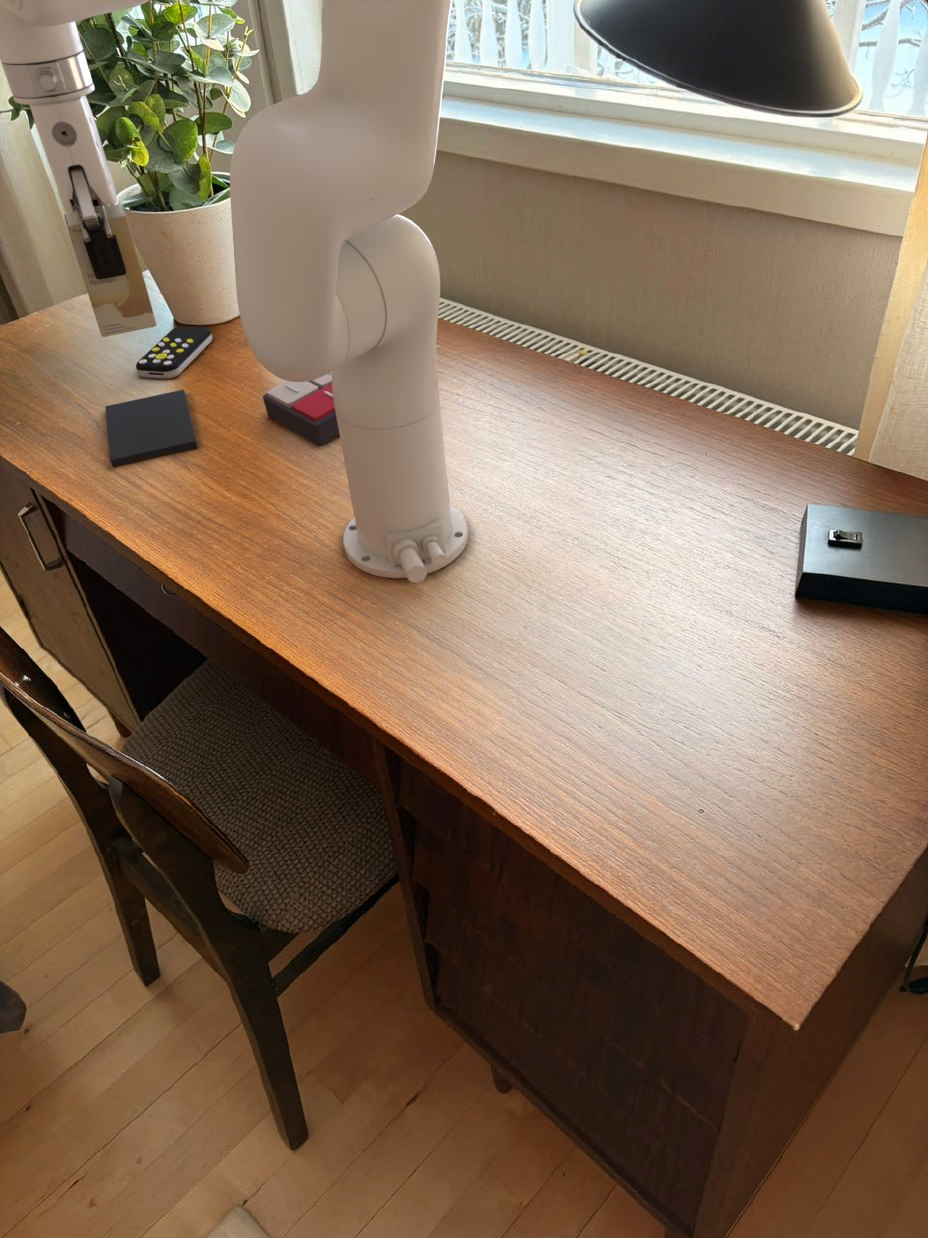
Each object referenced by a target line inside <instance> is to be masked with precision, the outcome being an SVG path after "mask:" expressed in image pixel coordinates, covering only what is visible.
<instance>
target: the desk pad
mask: <svg viewBox="0 0 928 1238" xmlns="http://www.w3.org/2000/svg"><path fill="white" fill-rule="evenodd" d="M104 407H105V419H106V429H107V441H108V452H109V462H110V464H111V466H112V467H113V468H115V467H119V466H123V465H127V464H133V463H138V462H141V461H147V460H150V459H154V458H159V457H163V456H168V455H172V454H177V453H180V452H185V451H189V450H190V451H191V450H194V449H198V448H199V446H198V443H197V438H196V433H195V429H194V425H193V421H192V417H191V412H190V407H189V403H188V399H187V395H186V392H185V389H179V390H174V391H170V392H165V393H161V394H156V395H151V396H147V397H141V398H137V399H133V400H128V401H123V402H119V403H114V404H109V405H105V406H104Z"/></svg>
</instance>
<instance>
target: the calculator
mask: <svg viewBox="0 0 928 1238" xmlns="http://www.w3.org/2000/svg"><path fill="white" fill-rule="evenodd" d="M262 399H263V403H264V407H265V410H266V414H267V416H268V419H270V420H273V421H274V422H276V423H278V424H279V425H281V426H283V427H285V428H286V429H288V430H290V431H292V432H294V433H296V434H298V435H299V436H301V437H303V438H305V439H307V441H310V442H312V443H313V444H315V445H317V446H324V445H325V444H327V443H329V442H330V441H332V440H334V439H336V438H337V437H340V434H339V429H338V423H337V418H336V412H335V406H334V401H333V393H332V372H330V373H328V374H326V375H324V376H322V377H320V378H317V379H314V380H311V381H306V382H292V381H287V380H284V381H283V382H282V383H280V384H278V385H276V386H274V387H272V388H271V389H268V390H267V391H266V394H265V393H264V394H263V396H262Z"/></svg>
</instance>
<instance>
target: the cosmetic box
mask: <svg viewBox="0 0 928 1238" xmlns="http://www.w3.org/2000/svg"><path fill="white" fill-rule="evenodd" d="M105 212H106V215H107V218H108V222H109V225H110V228H111V232H112V235H115V236H116V239H117V242H118V245H119V249H120V252H121V255H122V258H123V261H124V265H125V268H126V274H125V275H122V276H117V277H111V278H106V279H101V280H99V279H97V278H96V277H95V274H94V271H93V268H92V265H91V262H90V259H89V256H88V253H87V250H86V247H85V244H84V240H85V239H84V235H83V232H82V229H81V226H80V223H79V220H78V216H77V214H76V211H75V213H73V212H68V213H64V214H63V216H64V221H65V225H66V229H67V233H68V235H69V238H70V241H71V244H72V249H73V251H74V255H75V257H76V260H77V264H78V267H79V269H80V273H81V276H82V280H83V282H84V283H83V284H84V286H85V289H86V293H87V295H88V298H89V301H90V305H91V308H92V312H93V314H94V317H95V320H96V324H97V326H98V330H99V333H100V336H101V337H102V338H107V337H110V336H115V335H120V334H125V333H130V332H135V331H139V330H144V329H149V328H155V327H157V321H156V317H155V313H154V310H153V307H152V303H151V299H150V296H149V292H148V288H147V284H146V281H145V277H144V274H143V269H142V266H141V263H140V260H139V256H138V253H137V248H136V245H135V240H134V237H133V235H132V230H131V227H130V222H129V220H128V216H127V212H126V209H125V207H124V204H115V205H114V206H111V205H109V206H107V207H105ZM96 214H97V217H98V216H100V218H101V215H100V212H98V213H96ZM101 219H102V218H101Z"/></svg>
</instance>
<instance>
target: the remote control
mask: <svg viewBox="0 0 928 1238" xmlns="http://www.w3.org/2000/svg"><path fill="white" fill-rule="evenodd" d="M212 341H213V335H212V332H211V329H209V328H207V327H205V326H186V325H185V326H177V327H174V328H172V329H171V330H170V331H169V332H168V333H167V334H166V335H165V336H163V337H162V338H161V339H160V340H159V341H158V342H157V343H156V344H154V346H153V347H152V348H151V349H150V350H149V351H148V352H146V353H145V354H144V355H143V356H142V357H141V358H140V359H139V360H137V362H136V364H135V368H136V371H137V374H138V376H140V377H142V378H149V379H150V378H151V379H167V380H169V379H174V378H176V377H178V376H179V375H180V374H181V373H183V371H185V370H186V368H187V367H188V366H189V365H190V364H191V363H192V362H193V361H194V360H195V359H196V358H197V357H198V356H199V355H200V354H201V353H202V352H203V351H204V350H205V349H206V348H207V346H209V345H210V343H211V342H212Z"/></svg>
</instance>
